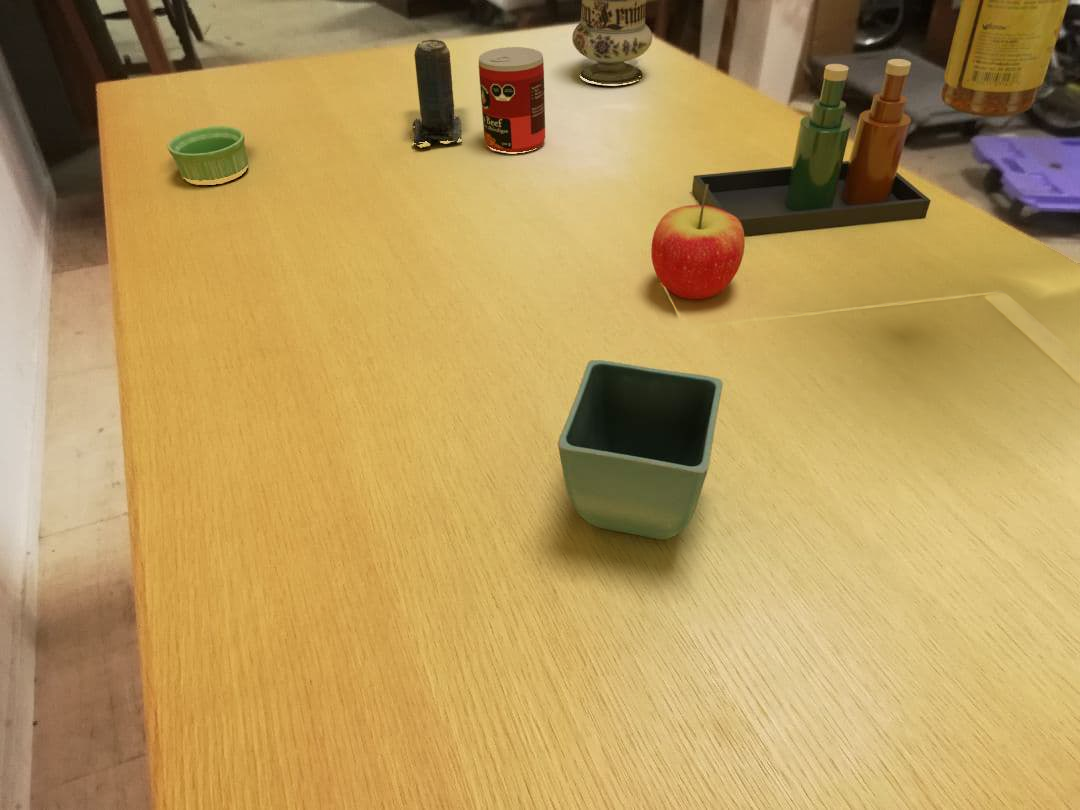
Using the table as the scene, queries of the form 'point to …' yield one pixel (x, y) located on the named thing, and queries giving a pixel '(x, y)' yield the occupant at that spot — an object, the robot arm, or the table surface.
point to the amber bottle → (879, 141)
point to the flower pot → (639, 447)
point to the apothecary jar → (612, 39)
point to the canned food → (512, 98)
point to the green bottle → (820, 146)
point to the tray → (766, 212)
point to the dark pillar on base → (435, 94)
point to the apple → (697, 250)
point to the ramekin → (209, 152)
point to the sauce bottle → (1001, 54)
